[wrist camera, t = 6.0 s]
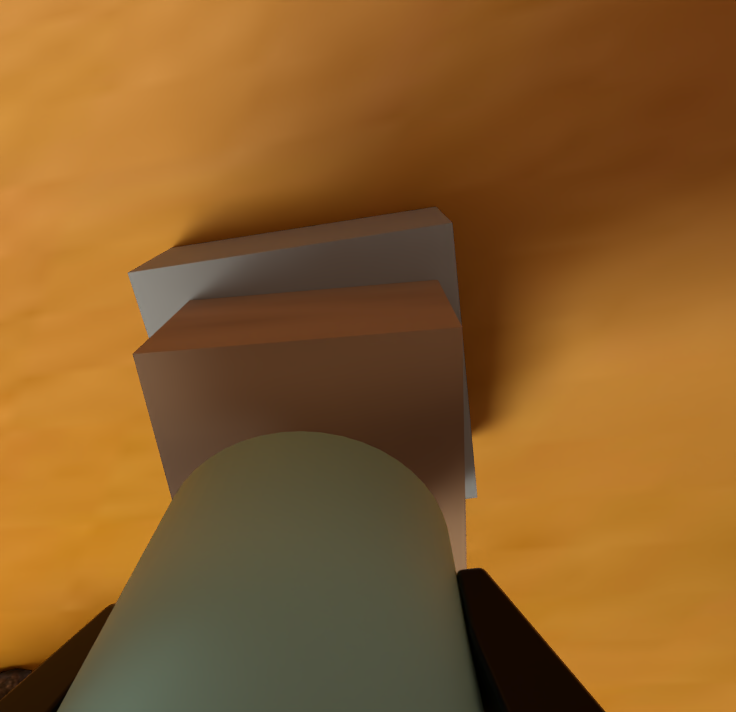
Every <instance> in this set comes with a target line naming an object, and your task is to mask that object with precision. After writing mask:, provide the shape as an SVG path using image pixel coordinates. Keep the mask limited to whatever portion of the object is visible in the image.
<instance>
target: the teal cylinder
mask: <svg viewBox="0 0 736 712" xmlns="http://www.w3.org/2000/svg"><path fill="white" fill-rule="evenodd" d="M57 712H484V707H483V702H482V697H481V692H480V687H479V682H478V677H477V672H476V667H475V663H474V658H473V654H472V649H471V645H470V640H469V635H468V630H467V625H466V620H465V615H464V610H463V605H462V600H461V595H460V590H459V585H458V580H457V573H456V568H455V563H454V558H453V553H452V548H451V543H450V538H449V533H448V528H447V524H446V522H445V519H444V516H443V513H442V511H441V509H440V507H439V505H438V503H437V501H436V499H435V498H434V496H433V495H432V493H431V492H430V491H429V489H428V488H427V487H426V485H425V484H424V483H423V482H422V481H421V480H420V479H419V478H418V477H417V476H416V475H415V474H414V473H413V472H412V471H411V470H410V469H408V468H407V467H406V466H404V465H403V464H402V463H401V462H399V461H398V460H397V459H395V458H393V457H392V456H390V455H388V454H386V453H385V452H383V451H381V450H379V449H377V448H375V447H372V446H370V445H368V444H365V443H363V442H360V441H357V440H354V439H350V438H347V437H344V436H339V435H333V434H327V433H322V432H306V431H296V432H279V433H274V434H268V435H262V436H258V437H255V438H251V439H248V440H245V441H241V442H239V443H237V444H235V445H232V446H230V447H228V448H225V449H223V450H222V451H220V452H218V453H217V454H215V455H214V456H212V457H210V458H209V459H207V460H206V461H205V462H204V463H202V464H201V465H200V466H199V467H198V468H196V469H195V470H194V471H193V472H192V473H191V475H190V476H189V477H188V478H187V479H186V480H185V481H184V482H183V484H182V485H181V487H180V488H179V490H178V491H177V493H176V495H175V496H174V498H173V500H172V502H171V503H170V505H169V507H168V509H167V511H166V513H165V514H164V516H163V518H162V520H161V522H160V524H159V525H158V527H157V529H156V531H155V533H154V535H153V536H152V538H151V540H150V542H149V544H148V546H147V547H146V549H145V551H144V553H143V555H142V557H141V558H140V560H139V562H138V564H137V566H136V568H135V569H134V571H133V573H132V575H131V577H130V579H129V580H128V582H127V584H126V586H125V588H124V590H123V591H122V593H121V595H120V597H119V599H118V601H117V602H116V604H115V606H114V608H113V610H112V612H111V613H110V615H109V617H108V619H107V621H106V623H105V624H104V626H103V628H102V630H101V632H100V634H99V635H98V637H97V639H96V641H95V643H94V645H93V646H92V648H91V650H90V652H89V654H88V656H87V657H86V659H85V661H84V663H83V665H82V667H81V668H80V670H79V672H78V674H77V676H76V678H75V679H74V681H73V683H72V685H71V687H70V689H69V690H68V692H67V694H66V696H65V698H64V700H63V701H62V703H61V705H60V707H59V709H58V711H57Z"/></svg>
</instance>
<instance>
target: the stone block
mask: <svg viewBox="0 0 736 712" xmlns="http://www.w3.org/2000/svg"><path fill="white" fill-rule="evenodd" d="M31 673H32V672H31V670H22V669H13V670H9V671H6V672H3V673H0V700H1V699H2V698H3V697H4V696H6V695H7V694H8V693H9V692H10V691H11V690H12V689H14V688H15V687H16V686H17V685H18V684H19V683H20V682H22V681H23V680H24V679H25V678H26V677H27V676H28V675H30V674H31Z"/></svg>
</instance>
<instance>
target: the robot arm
mask: <svg viewBox="0 0 736 712" xmlns="http://www.w3.org/2000/svg"><path fill="white" fill-rule="evenodd" d="M457 580H458V585H459V590H460V595H461V600H462V605H463V610H464V615H465V620H466V625H467V630H468V635H469V640H470V645H471V649H472V654H473V658H474V663H475V667H476V672H477V677H478V682H479V687H480V692H481V697H482V702H483V707H484V712H605V711H604V710H603V708H602V707H601V706H600V705H599V704H598V702H597V701H596V700H595V699H594V698H593V697H592V695H591V694H590V693H589V692H588V691H587V690H586V688H585V687H584V686H583V685H582V684H581V682H580V681H579V680H578V679H577V678H576V677H575V675H574V674H573V673H572V672H571V671H570V670H569V668H568V667H567V666H566V665H565V664H564V662H563V661H562V660H561V659H560V658H559V657H558V655H557V654H556V653H555V652H554V651H553V650H552V648H551V647H550V646H549V645H548V644H547V642H546V641H545V640H544V639H543V638H542V637H541V635H540V634H539V633H538V632H537V631H536V630H535V628H534V627H533V626H532V625H531V624H530V622H529V621H528V620H527V619H526V618H525V617H524V615H523V614H522V613H521V612H520V611H519V609H518V608H517V607H516V606H515V605H514V604H513V602H512V601H511V600H510V599H509V598H508V597H507V595H506V594H505V593H504V592H503V591H502V589H501V588H500V587H499V586H498V585H497V584H496V582H495V581H494V580H493V579H492V578H491V577H490V575H489V574H488V573H487V572H486V571H485V570H484V569H482V568H473V569H463V570H459V571H458V572H457ZM115 604H116V603H114V604H111V605H109V606H108V607H106V608H105V609H104V610H103V611H102V612H100V613H99V614H98V615H97V616H96V617H95V618H94V619H92V620H91V621H90V622H89V623H88V624H87V625H86V626H84V627H83V628H82V629H81V630H80V631H79V632H78V633H76V634H75V635H74V636H73V637H72V638H71V639H70V640H68V641H67V642H66V643H65V644H64V645H63V646H62V647H60V648H59V649H58V650H57V651H56V652H55V653H54V654H52V655H51V656H50V657H49V658H48V659H47V660H46V661H44V662H43V663H42V664H41V665H40V666H39V667H38V668H36V669H35V670H34V671H33V672H32V673H31V674H30V675H28V676H27V677H26V678H25V679H24V680H23V681H22V682H20V683H19V684H18V685H17V686H16V687H15V688H14V689H12V690H11V691H10V692H9V693H8V694H7V695H6V696H4V697H3V698H2V699H1V700H0V712H57V711H58V709H59V707H60V705H61V703H62V701H63V700H64V698H65V696H66V694H67V692H68V690H69V689H70V687H71V685H72V683H73V681H74V679H75V678H76V676H77V674H78V672H79V670H80V668H81V667H82V665H83V663H84V661H85V659H86V657H87V656H88V654H89V652H90V650H91V648H92V646H93V645H94V643H95V641H96V639H97V637H98V635H99V634H100V632H101V630H102V628H103V626H104V624H105V623H106V621H107V619H108V617H109V615H110V613H111V612H112V610H113V608H114V606H115Z"/></svg>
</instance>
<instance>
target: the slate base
mask: <svg viewBox="0 0 736 712" xmlns="http://www.w3.org/2000/svg"><path fill="white" fill-rule="evenodd" d="M128 275H129V278H130V281H131V284H132V287H133V290H134V293H135V297H136V300H137V303H138V306H139V309H140V312H141V315H142V318H143V321H144V324H145V327H146V330H147V333H148V336H149V338H150V337H151V336H152V335H153V334H154V333H155V332H156V331H158V330H159V329H160V328H161V327H162V326H163V325H164V324H165V323H166V322H167V321H168V320H169V319H170V318H171V317H172V316H173V315H174V314H175V313H177V312H178V311H179V310H180V309H181V308H182V307H183V306H184V305H185V304H186V303H187V302H188V301H189V300H201V299H212V298H224V297H236V296H248V295H260V294H272V293H284V292H296V291H308V290H320V289H332V288H344V287H356V286H368V285H380V284H392V283H404V282H416V281H428V280H438V281H439V283H440V285H441V287H442V289H443V291H444V293H445V295H446V297H447V299H448V300H449V302H450V304H451V306H452V308H453V310H454V312H455V314H456V316H457V318H458V320H459V322H460V324H461V326H462V323H461V312H460V301H459V290H458V279H457V268H456V257H455V246H454V235H453V224H452V222H451V221H450V220H449V219H448V218H447V217H446V216H445V215H444V214H443V213H442V212H441V211H440V210H439V209H438V208H437V207H430V208H424V209H417V210H411V211H404V212H398V213H391V214H385V215H379V216H372V217H366V218H359V219H353V220H347V221H340V222H334V223H327V224H321V225H314V226H308V227H302V228H295V229H289V230H282V231H276V232H270V233H263V234H257V235H250V236H244V237H237V238H231V239H225V240H218V241H212V242H205V243H199V244H193V245H186V246H180V247H173V248H170V249H169V250H167V251H165V252H163V253H162V254H160V255H158V256H156V257H155V258H153V259H151V260H149V261H148V262H146V263H144V264H142V265H141V266H139V267H137V268H135V269H134V270H132V271H130V272H128ZM462 340H463V334H462ZM463 396H464V453H465V499H468V498H476V497H477V489H476V478H475V467H474V456H473V445H472V434H471V423H470V412H469V401H468V390H467V379H466V368H465V357H464V345H463Z"/></svg>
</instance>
